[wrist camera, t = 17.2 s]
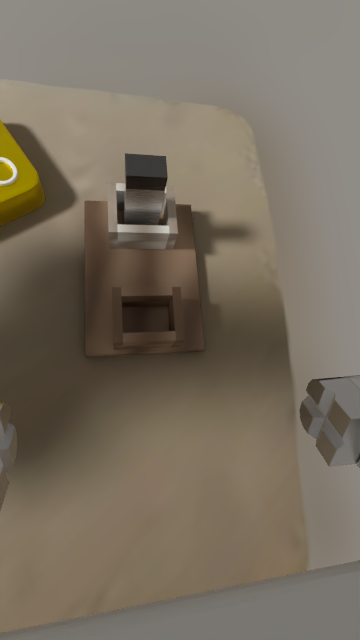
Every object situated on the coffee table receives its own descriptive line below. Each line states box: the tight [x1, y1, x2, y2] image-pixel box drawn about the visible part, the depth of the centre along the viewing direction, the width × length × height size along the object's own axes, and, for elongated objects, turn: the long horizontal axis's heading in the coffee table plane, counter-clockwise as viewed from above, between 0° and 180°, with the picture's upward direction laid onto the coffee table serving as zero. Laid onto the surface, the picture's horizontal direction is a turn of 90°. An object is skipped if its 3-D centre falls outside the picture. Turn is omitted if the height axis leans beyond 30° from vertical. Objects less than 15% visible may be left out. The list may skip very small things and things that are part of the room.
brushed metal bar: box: [124, 154, 167, 225], centre depth 37 cm, size 4×2×11 cm, turn 95°
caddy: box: [85, 183, 205, 357], centre depth 39 cm, size 14×20×6 cm
